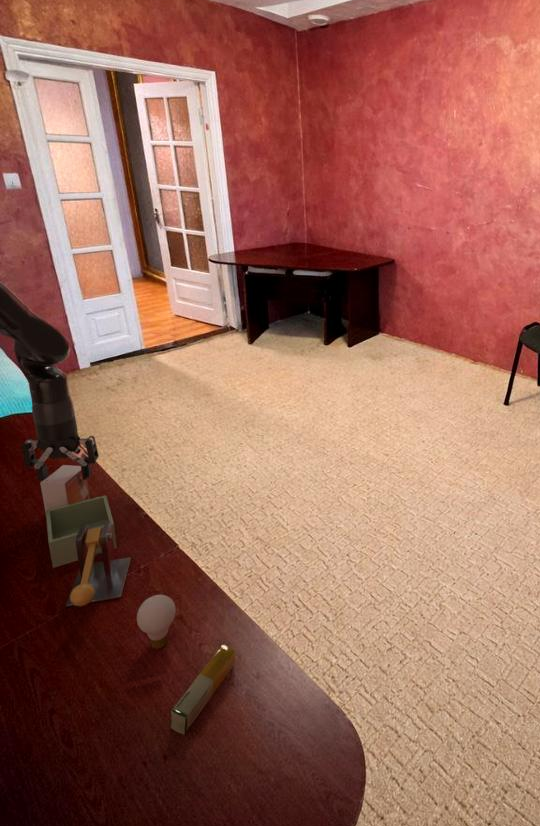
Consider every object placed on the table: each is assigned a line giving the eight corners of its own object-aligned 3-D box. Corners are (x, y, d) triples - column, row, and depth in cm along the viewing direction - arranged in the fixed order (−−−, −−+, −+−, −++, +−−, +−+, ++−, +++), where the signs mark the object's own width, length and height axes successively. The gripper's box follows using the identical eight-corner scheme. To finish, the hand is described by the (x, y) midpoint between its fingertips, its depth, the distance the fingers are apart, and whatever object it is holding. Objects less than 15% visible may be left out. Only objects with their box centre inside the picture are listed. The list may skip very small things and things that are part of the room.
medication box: (184, 737, 70) (184, 719, 69) (169, 729, 71) (169, 711, 69) (235, 665, 81) (236, 648, 80) (221, 658, 82) (222, 642, 80)
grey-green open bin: (50, 536, 107) (45, 510, 105) (109, 519, 114) (106, 495, 112) (53, 570, 98) (48, 542, 96) (117, 550, 105) (114, 524, 102)
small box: (70, 523, 112) (64, 484, 108) (46, 522, 111) (39, 482, 108) (91, 503, 119) (86, 465, 116) (68, 501, 119) (62, 464, 116)
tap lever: (94, 607, 84) (90, 597, 82) (70, 612, 83) (65, 601, 81) (108, 535, 95) (104, 525, 92) (87, 538, 93) (83, 528, 91)
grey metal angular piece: (121, 601, 92) (114, 545, 88) (66, 610, 89) (56, 554, 85) (131, 561, 102) (125, 510, 98) (82, 569, 99) (74, 516, 95)
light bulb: (154, 667, 80) (148, 620, 77) (133, 649, 83) (127, 603, 80) (185, 642, 85) (181, 597, 82) (164, 625, 87) (160, 581, 84)
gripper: (96, 408, 113) (105, 468, 118) (26, 410, 109) (38, 472, 114) (84, 422, 106) (94, 486, 111) (9, 425, 102) (22, 490, 107)
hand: (65, 479), depth 113 cm, fingers open, 8 cm apart
